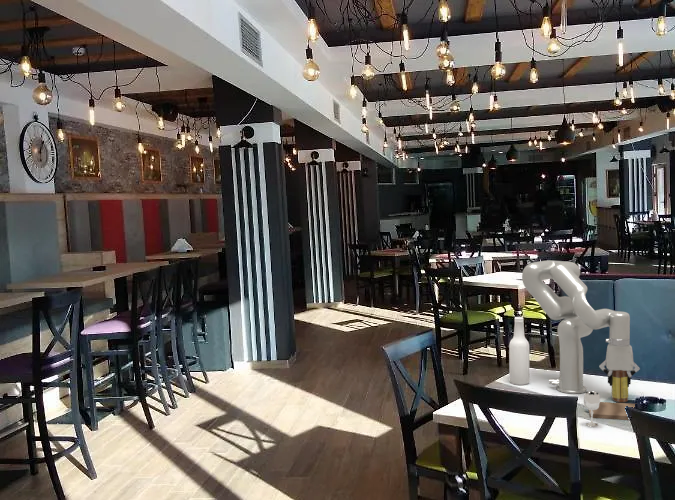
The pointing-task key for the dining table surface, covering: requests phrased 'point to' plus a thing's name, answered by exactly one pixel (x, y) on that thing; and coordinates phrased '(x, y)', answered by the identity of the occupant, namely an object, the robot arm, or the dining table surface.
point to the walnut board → (611, 411)
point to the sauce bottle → (619, 386)
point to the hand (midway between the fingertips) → (619, 385)
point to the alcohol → (519, 355)
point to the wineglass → (591, 404)
